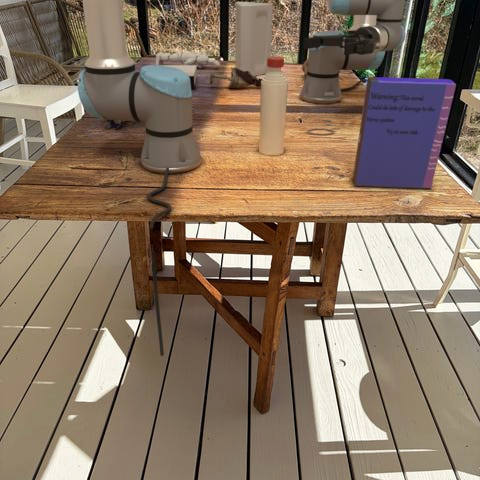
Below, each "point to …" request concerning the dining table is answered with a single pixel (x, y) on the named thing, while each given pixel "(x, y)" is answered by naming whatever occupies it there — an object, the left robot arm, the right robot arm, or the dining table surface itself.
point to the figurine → (239, 79)
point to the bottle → (273, 112)
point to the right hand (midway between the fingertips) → (324, 46)
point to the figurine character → (112, 122)
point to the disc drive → (188, 72)
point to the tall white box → (253, 36)
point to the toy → (185, 58)
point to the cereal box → (402, 131)
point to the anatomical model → (305, 67)
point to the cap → (275, 62)
